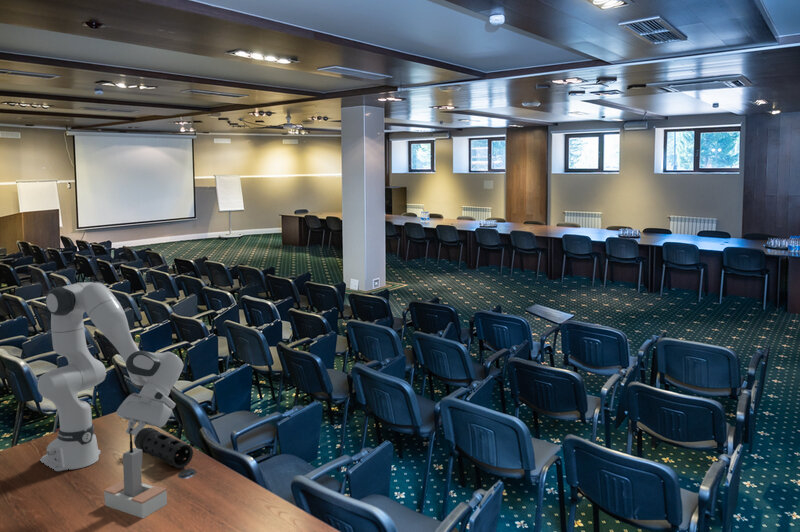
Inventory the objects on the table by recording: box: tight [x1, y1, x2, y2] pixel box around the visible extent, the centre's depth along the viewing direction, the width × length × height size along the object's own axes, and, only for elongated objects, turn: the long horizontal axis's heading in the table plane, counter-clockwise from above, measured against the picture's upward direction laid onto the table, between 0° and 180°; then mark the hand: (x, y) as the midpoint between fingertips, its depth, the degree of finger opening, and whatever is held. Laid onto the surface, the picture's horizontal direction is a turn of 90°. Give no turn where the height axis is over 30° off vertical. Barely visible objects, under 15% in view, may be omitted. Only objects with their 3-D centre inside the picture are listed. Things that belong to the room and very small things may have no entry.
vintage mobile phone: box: [122, 428, 143, 498], centre depth 206 cm, size 4×5×25 cm
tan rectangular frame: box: [103, 479, 168, 519], centre depth 208 cm, size 18×10×6 cm, turn 64°
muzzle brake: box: [133, 427, 194, 470], centre depth 242 cm, size 10×28×10 cm, turn 53°
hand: (130, 433), depth 204 cm, fingers closed on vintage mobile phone
